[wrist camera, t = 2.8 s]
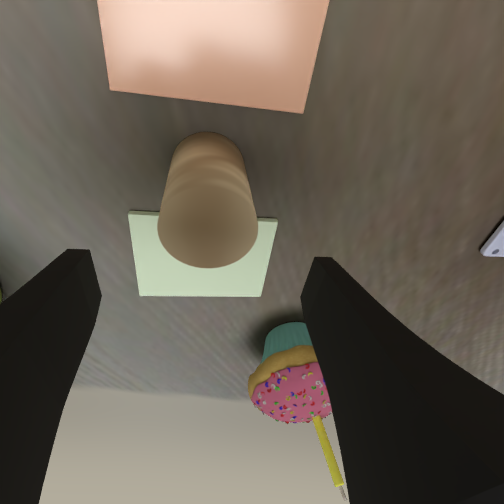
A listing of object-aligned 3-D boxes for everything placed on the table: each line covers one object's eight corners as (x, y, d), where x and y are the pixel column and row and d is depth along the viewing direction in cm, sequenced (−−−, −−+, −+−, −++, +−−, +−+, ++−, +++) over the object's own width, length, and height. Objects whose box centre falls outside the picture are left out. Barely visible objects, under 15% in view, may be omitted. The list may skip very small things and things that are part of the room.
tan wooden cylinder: (248, 135, 16) (265, 190, 11) (240, 202, 18) (251, 269, 14) (170, 127, 15) (153, 182, 10) (172, 198, 17) (159, 267, 13)
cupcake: (350, 330, 28) (418, 485, 19) (285, 369, 32) (317, 517, 23) (292, 294, 24) (344, 471, 15) (224, 344, 28) (233, 513, 18)
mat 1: (348, -96, 11) (352, -98, 10) (301, 111, 15) (303, 113, 15) (77, -166, 9) (72, -172, 9) (112, 88, 13) (110, 90, 13)
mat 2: (276, 218, 19) (277, 222, 19) (259, 292, 23) (260, 296, 23) (129, 210, 18) (127, 214, 17) (140, 291, 22) (139, 295, 22)
